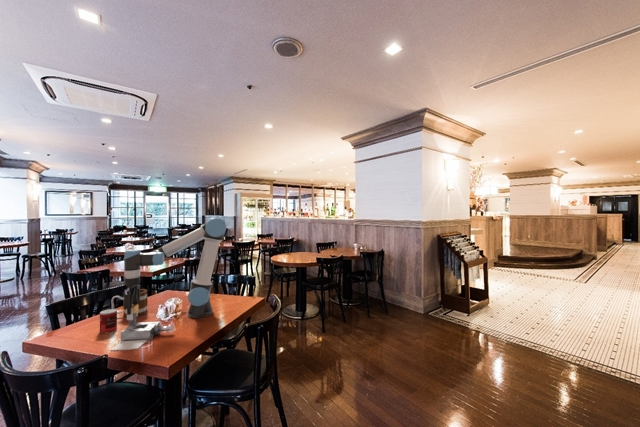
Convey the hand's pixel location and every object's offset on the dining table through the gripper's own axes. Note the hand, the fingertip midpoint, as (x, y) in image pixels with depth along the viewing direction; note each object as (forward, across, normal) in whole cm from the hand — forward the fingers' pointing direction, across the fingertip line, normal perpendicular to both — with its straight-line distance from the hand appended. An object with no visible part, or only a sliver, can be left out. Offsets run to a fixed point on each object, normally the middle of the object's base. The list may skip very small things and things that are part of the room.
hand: (132, 318), depth 157 cm
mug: (+7, -25, -14) cm, 29 cm away
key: (+7, 0, 0) cm, 7 cm away
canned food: (+7, -1, -13) cm, 15 cm away
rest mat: (+7, +20, +9) cm, 23 cm away
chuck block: (+7, +9, +14) cm, 18 cm away
